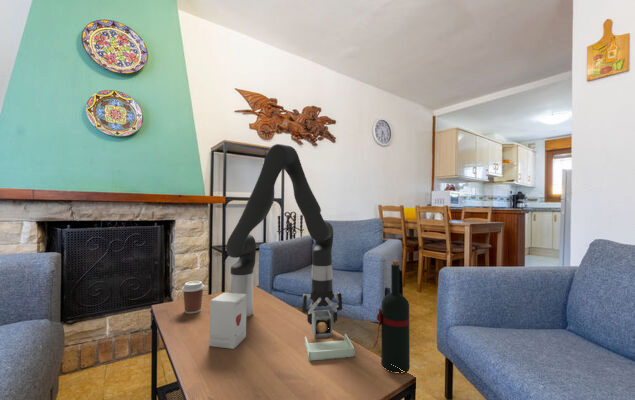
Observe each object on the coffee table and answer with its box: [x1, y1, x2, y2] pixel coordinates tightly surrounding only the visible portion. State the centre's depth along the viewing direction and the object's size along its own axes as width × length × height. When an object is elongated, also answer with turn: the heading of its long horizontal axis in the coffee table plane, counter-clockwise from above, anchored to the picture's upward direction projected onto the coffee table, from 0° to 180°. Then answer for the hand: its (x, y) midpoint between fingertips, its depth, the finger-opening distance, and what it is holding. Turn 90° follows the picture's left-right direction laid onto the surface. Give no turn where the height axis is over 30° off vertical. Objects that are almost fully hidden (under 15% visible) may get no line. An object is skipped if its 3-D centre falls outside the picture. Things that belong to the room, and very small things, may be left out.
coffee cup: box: [181, 280, 206, 314], centre depth 122 cm, size 9×9×12 cm
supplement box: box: [208, 292, 247, 350], centre depth 95 cm, size 9×9×15 cm
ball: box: [316, 322, 328, 334], centre depth 101 cm, size 4×4×4 cm
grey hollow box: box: [311, 309, 333, 339], centre depth 101 cm, size 6×6×7 cm
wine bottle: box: [373, 259, 411, 373], centre depth 81 cm, size 8×10×30 cm
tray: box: [304, 333, 356, 362], centre depth 89 cm, size 10×14×2 cm
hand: (322, 322), depth 101 cm, fingers open, 8 cm apart
